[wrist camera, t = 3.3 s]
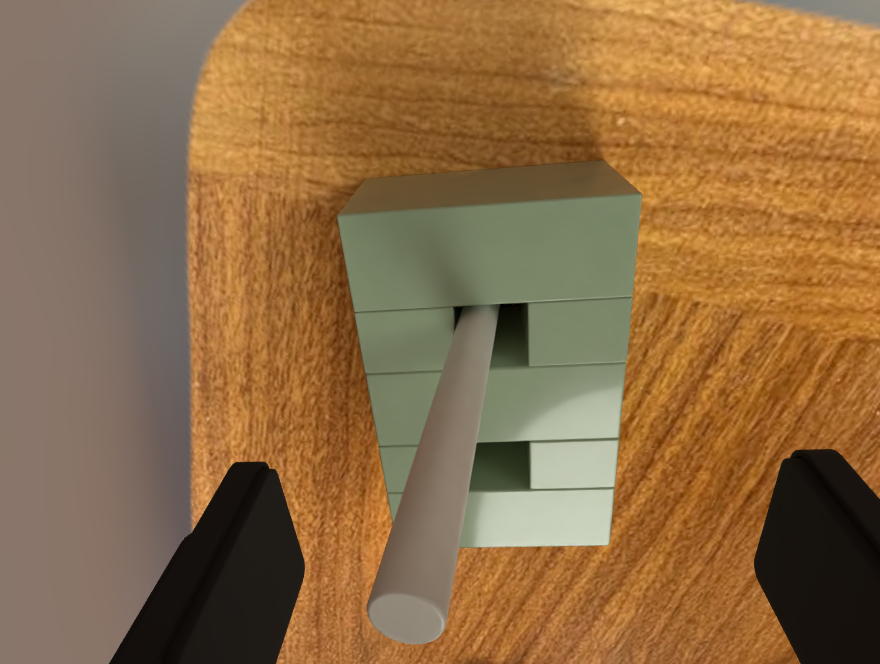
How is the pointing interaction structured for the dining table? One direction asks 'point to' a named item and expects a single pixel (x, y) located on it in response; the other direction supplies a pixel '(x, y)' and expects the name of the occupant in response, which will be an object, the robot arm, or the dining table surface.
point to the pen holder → (503, 333)
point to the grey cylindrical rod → (436, 492)
